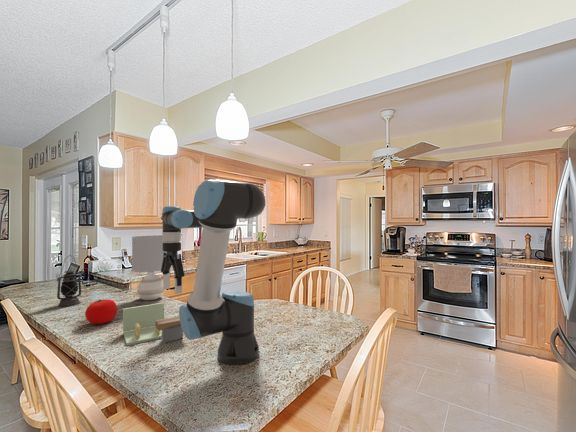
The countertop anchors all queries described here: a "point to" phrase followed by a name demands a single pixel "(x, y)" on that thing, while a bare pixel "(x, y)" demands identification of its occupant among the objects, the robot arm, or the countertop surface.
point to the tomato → (101, 311)
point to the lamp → (148, 265)
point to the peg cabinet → (142, 323)
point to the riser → (172, 334)
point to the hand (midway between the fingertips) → (172, 291)
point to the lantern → (69, 288)
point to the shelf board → (168, 323)
